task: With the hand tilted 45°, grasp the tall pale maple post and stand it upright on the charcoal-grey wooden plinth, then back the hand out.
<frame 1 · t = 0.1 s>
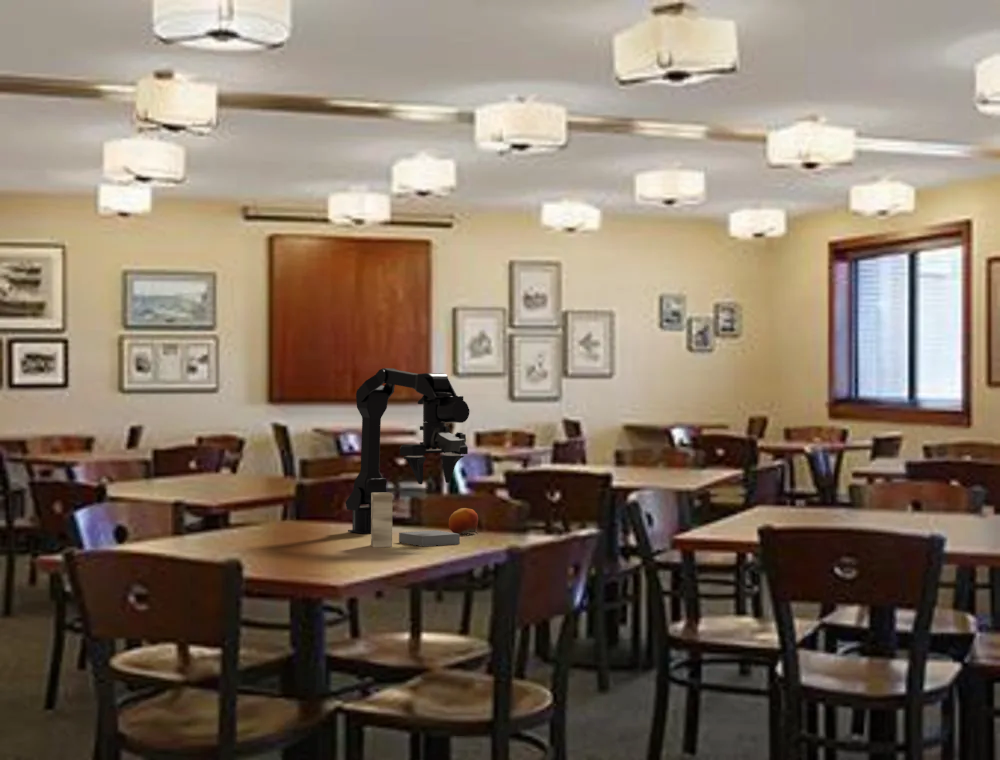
hand: (434, 483, 362), 15 cm above the table, tool pointing down, fingers open, 9 cm apart
plinth: (429, 543, 355), on the table
fruit: (463, 534, 380), on the table
maple post: (381, 546, 349), on the table
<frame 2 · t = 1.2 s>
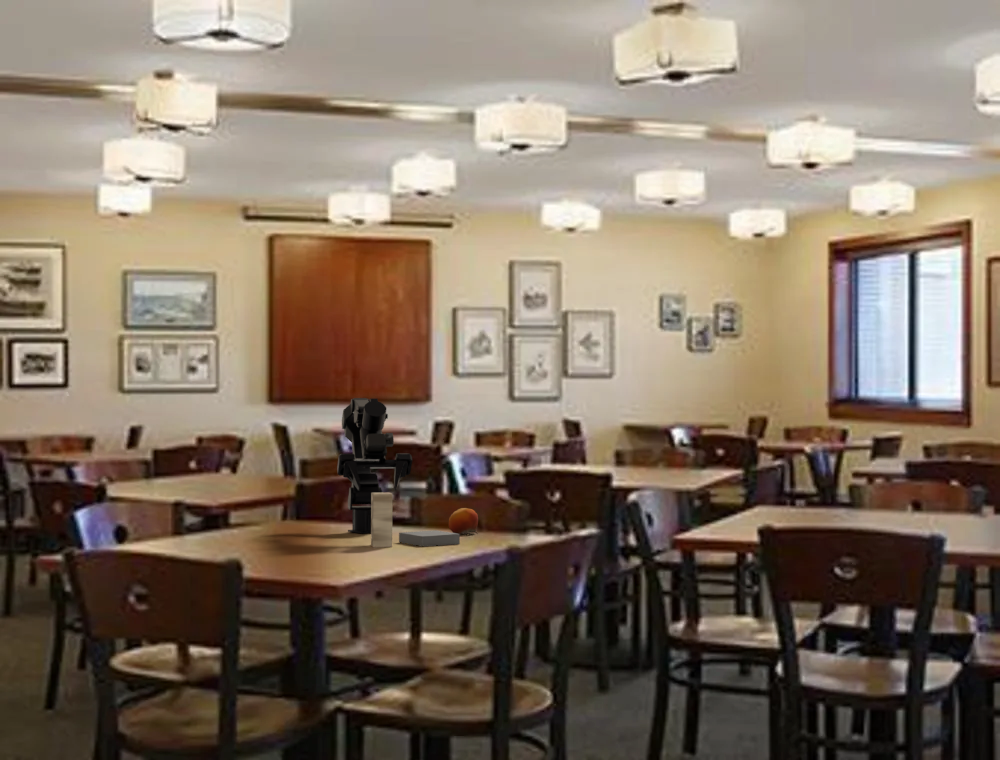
hand: (377, 489, 356), 13 cm above the table, tool tilted 45°, fingers open, 9 cm apart
nothing on the table moved.
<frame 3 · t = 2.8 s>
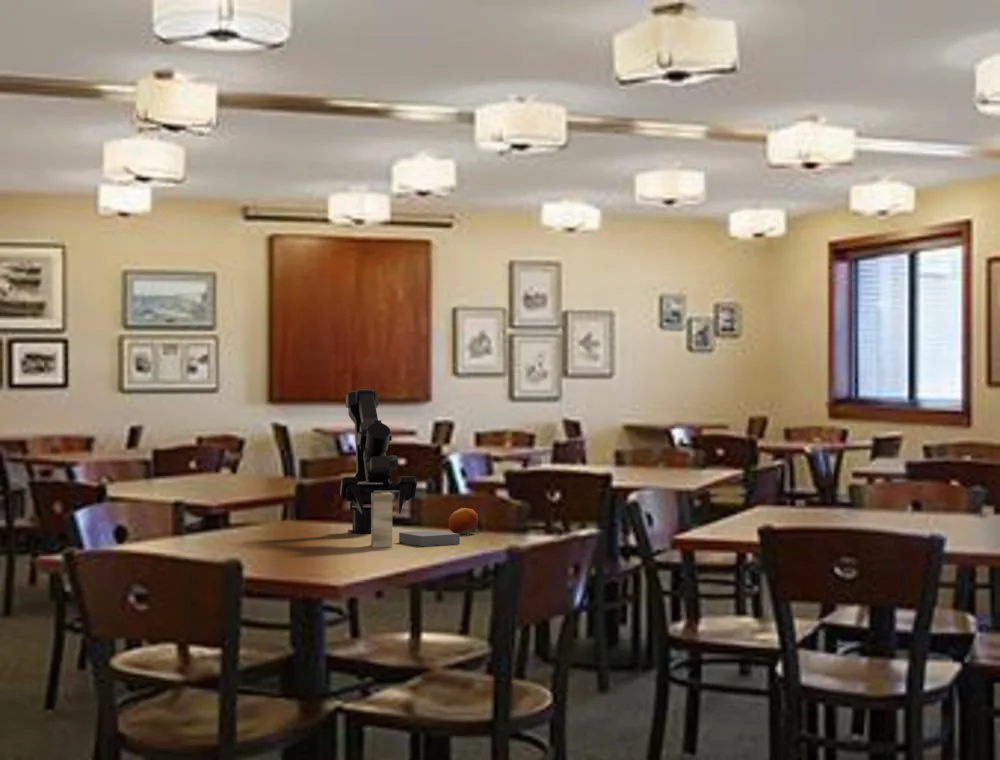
hand: (381, 513, 349), 8 cm above the table, tool tilted 45°, fingers open, 9 cm apart
nothing on the table moved.
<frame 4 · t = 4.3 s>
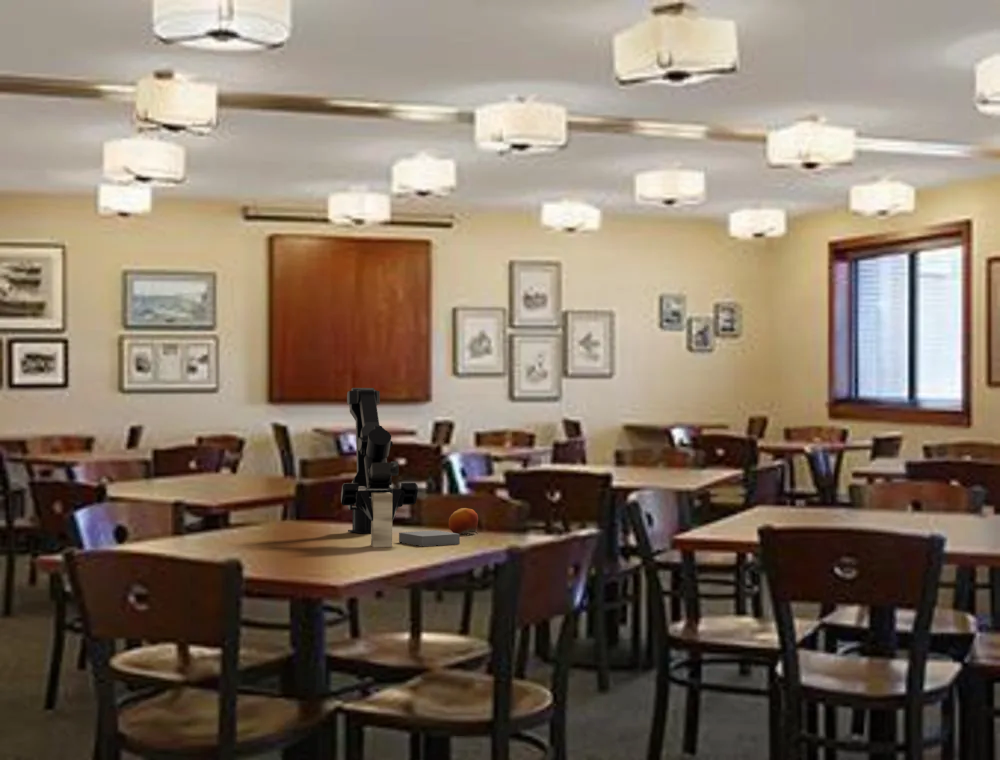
hand: (382, 519, 347), 7 cm above the table, tool tilted 45°, fingers closed on maple post, 5 cm apart
maple post: (381, 546, 349), on the table, touching gripper
everything else where it was.
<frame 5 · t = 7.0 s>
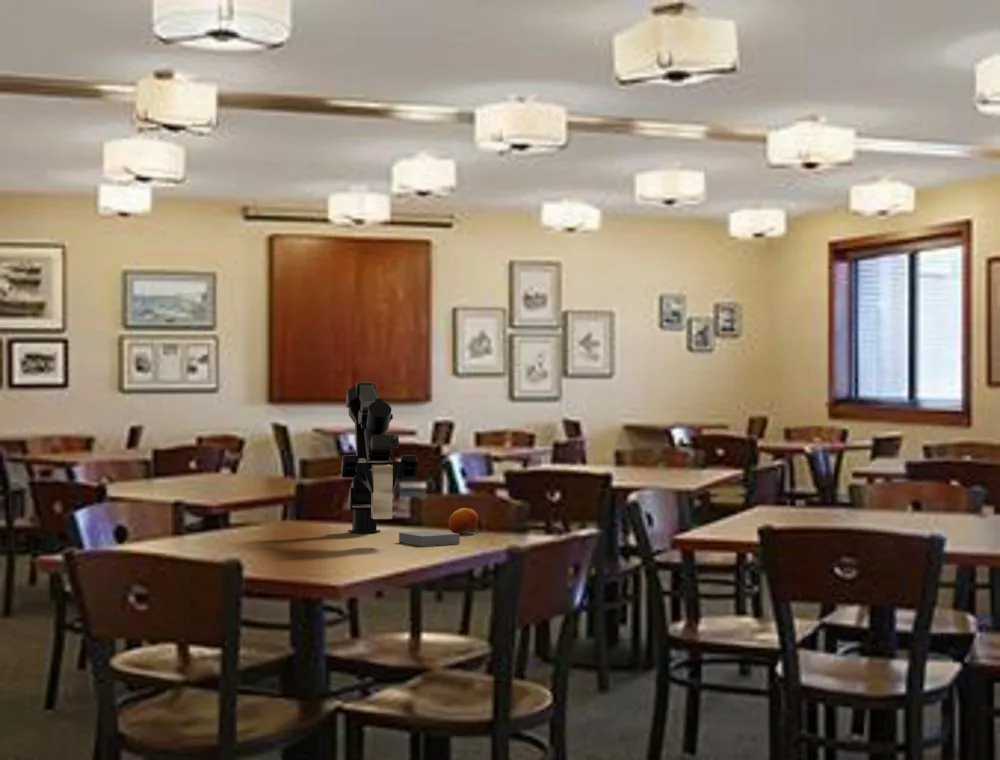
hand: (382, 491, 347), 13 cm above the table, tool tilted 45°, fingers closed on maple post, 5 cm apart
maple post: (381, 518, 349), point 7 cm above the table, touching gripper
everything else where it was.
when the fingers open (11 cm above the table, at t = 9.8 s): maple post drops 1 cm, resting on plinth.
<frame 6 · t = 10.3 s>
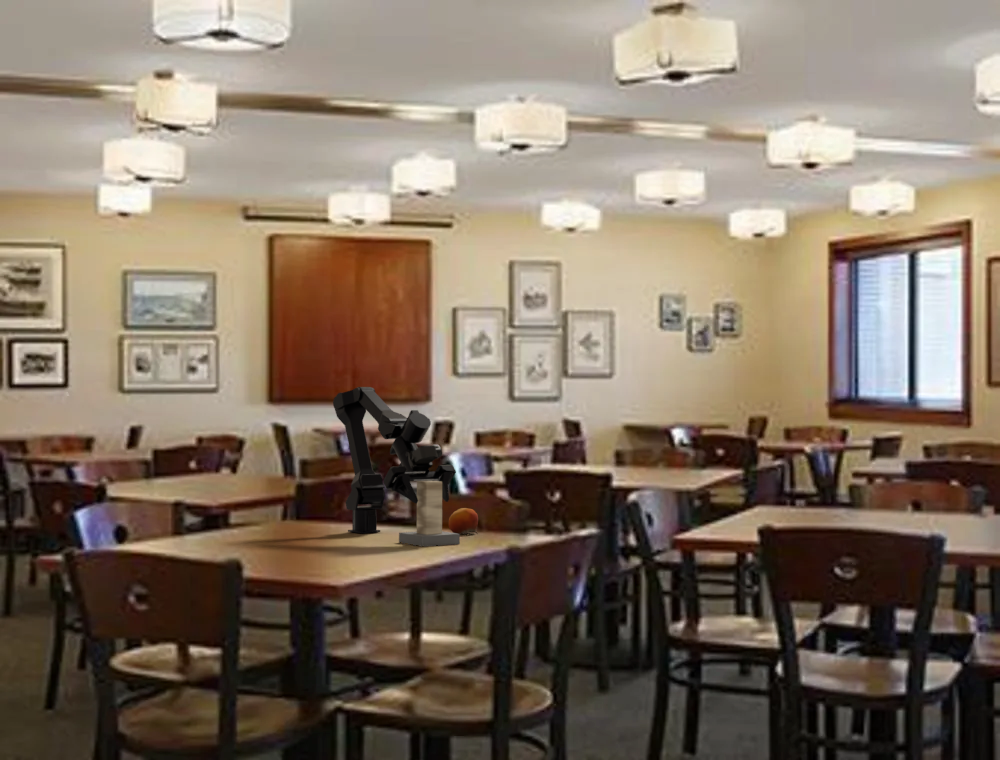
hand: (432, 501, 354), 11 cm above the table, tool tilted 45°, fingers open, 9 cm apart
maple post: (429, 533, 355), point 3 cm above the table, touching plinth
everything else where it was.
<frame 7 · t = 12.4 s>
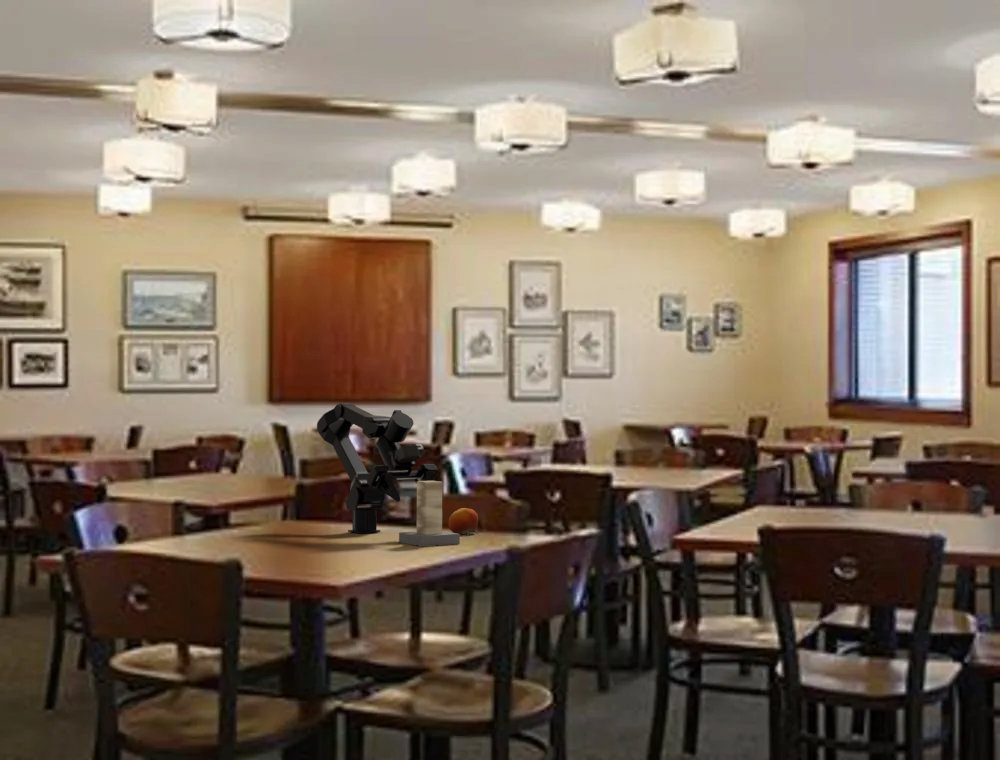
hand: (414, 499, 361), 10 cm above the table, tool tilted 45°, fingers open, 9 cm apart
nothing on the table moved.
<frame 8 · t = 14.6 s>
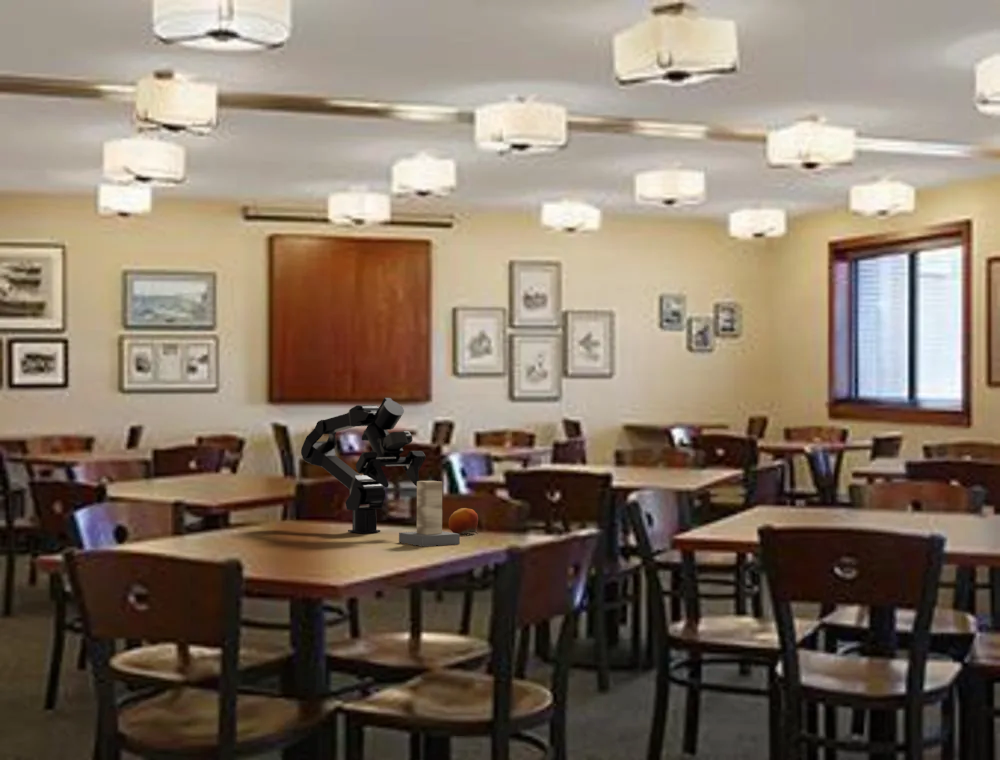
hand: (402, 485, 367), 14 cm above the table, tool tilted 45°, fingers open, 9 cm apart
nothing on the table moved.
at the end: maple post 0.1 cm off-centre on the plinth, point 2.5 cm above the plinth's base; maple post tilted 0°; the gripper is holding nothing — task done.
